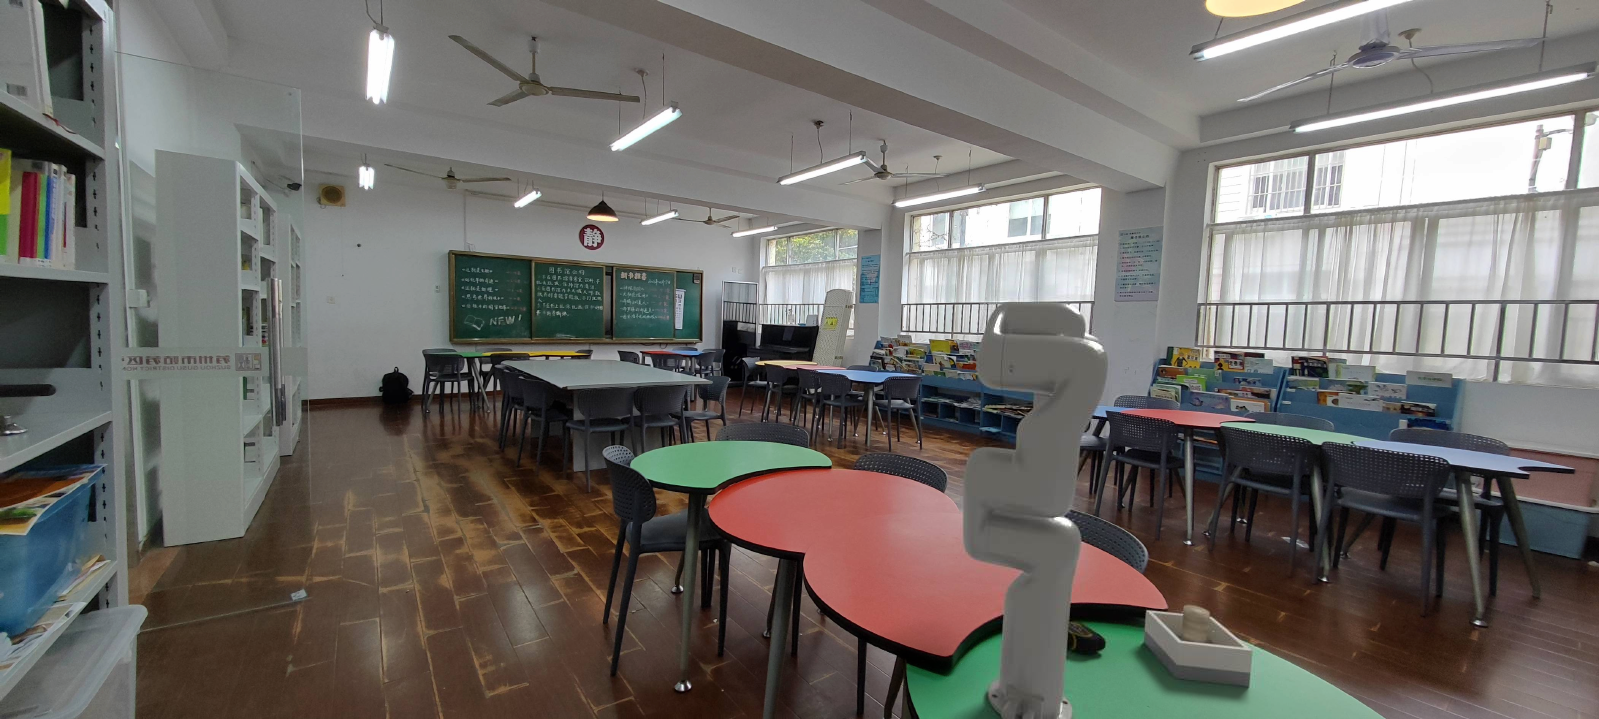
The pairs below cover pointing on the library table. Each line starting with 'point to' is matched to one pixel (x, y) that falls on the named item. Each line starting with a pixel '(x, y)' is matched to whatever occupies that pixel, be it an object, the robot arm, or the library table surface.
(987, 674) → the library table surface
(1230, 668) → the bore box
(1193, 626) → the peg
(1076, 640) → the tape measure
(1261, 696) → the library table surface
